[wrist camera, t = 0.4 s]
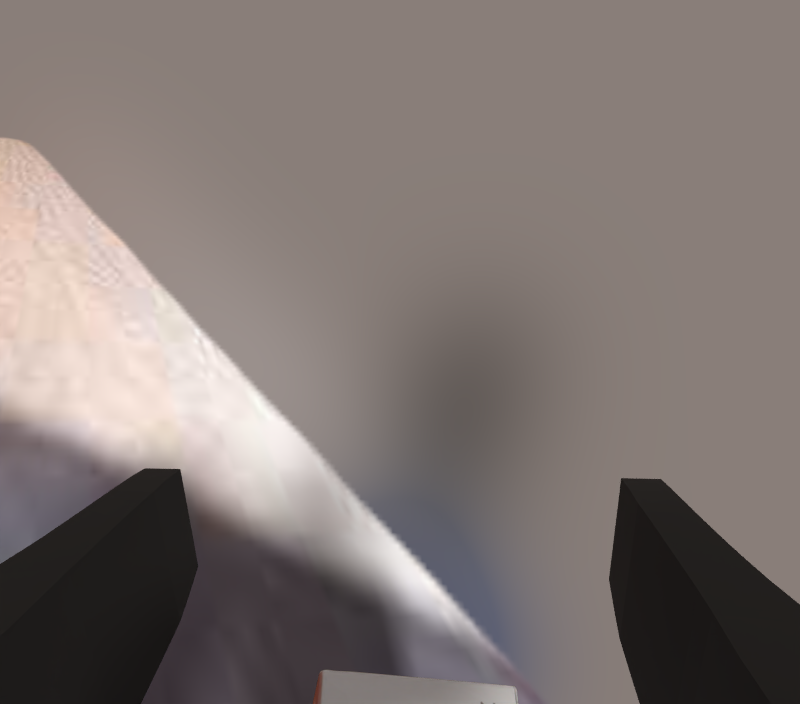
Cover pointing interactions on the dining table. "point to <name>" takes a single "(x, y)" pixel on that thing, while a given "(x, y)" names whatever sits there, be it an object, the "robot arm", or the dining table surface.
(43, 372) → the dining table surface
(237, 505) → the dining table surface
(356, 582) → the dining table surface
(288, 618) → the dining table surface
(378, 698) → the small box
